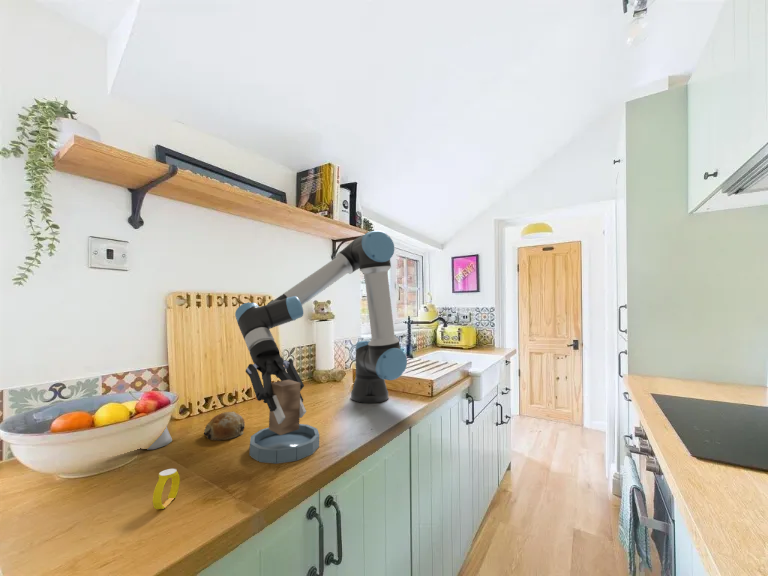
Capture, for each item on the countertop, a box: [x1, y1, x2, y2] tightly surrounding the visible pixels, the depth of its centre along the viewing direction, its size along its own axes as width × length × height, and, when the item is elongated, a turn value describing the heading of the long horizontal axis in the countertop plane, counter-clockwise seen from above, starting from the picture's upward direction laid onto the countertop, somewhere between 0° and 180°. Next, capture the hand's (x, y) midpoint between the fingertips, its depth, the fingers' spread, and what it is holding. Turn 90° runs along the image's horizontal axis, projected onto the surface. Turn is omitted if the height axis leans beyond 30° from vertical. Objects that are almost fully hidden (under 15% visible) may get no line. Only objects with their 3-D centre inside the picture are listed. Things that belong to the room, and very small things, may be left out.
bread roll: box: [203, 411, 246, 442], centre depth 92 cm, size 10×10×8 cm
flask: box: [147, 426, 173, 451], centre depth 85 cm, size 7×7×10 cm
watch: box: [152, 468, 181, 510], centre depth 60 cm, size 6×3×6 cm, turn 4°
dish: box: [249, 423, 320, 464], centre depth 84 cm, size 17×17×3 cm
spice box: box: [268, 380, 301, 435], centre depth 84 cm, size 6×6×12 cm
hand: (292, 417), depth 82 cm, fingers closed on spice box, 5 cm apart
